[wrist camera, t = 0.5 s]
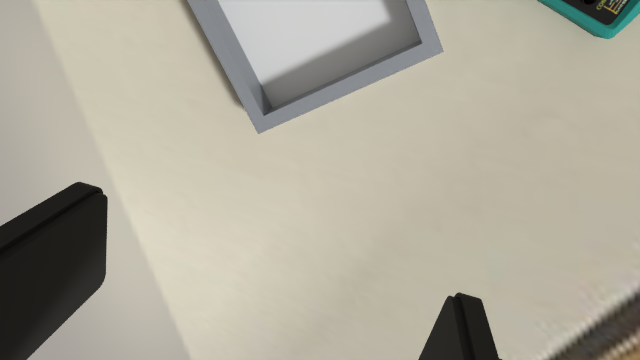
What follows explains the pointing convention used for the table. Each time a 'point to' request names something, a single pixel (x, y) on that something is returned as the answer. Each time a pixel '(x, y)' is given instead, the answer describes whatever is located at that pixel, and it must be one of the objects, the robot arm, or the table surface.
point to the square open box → (312, 49)
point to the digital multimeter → (597, 14)
